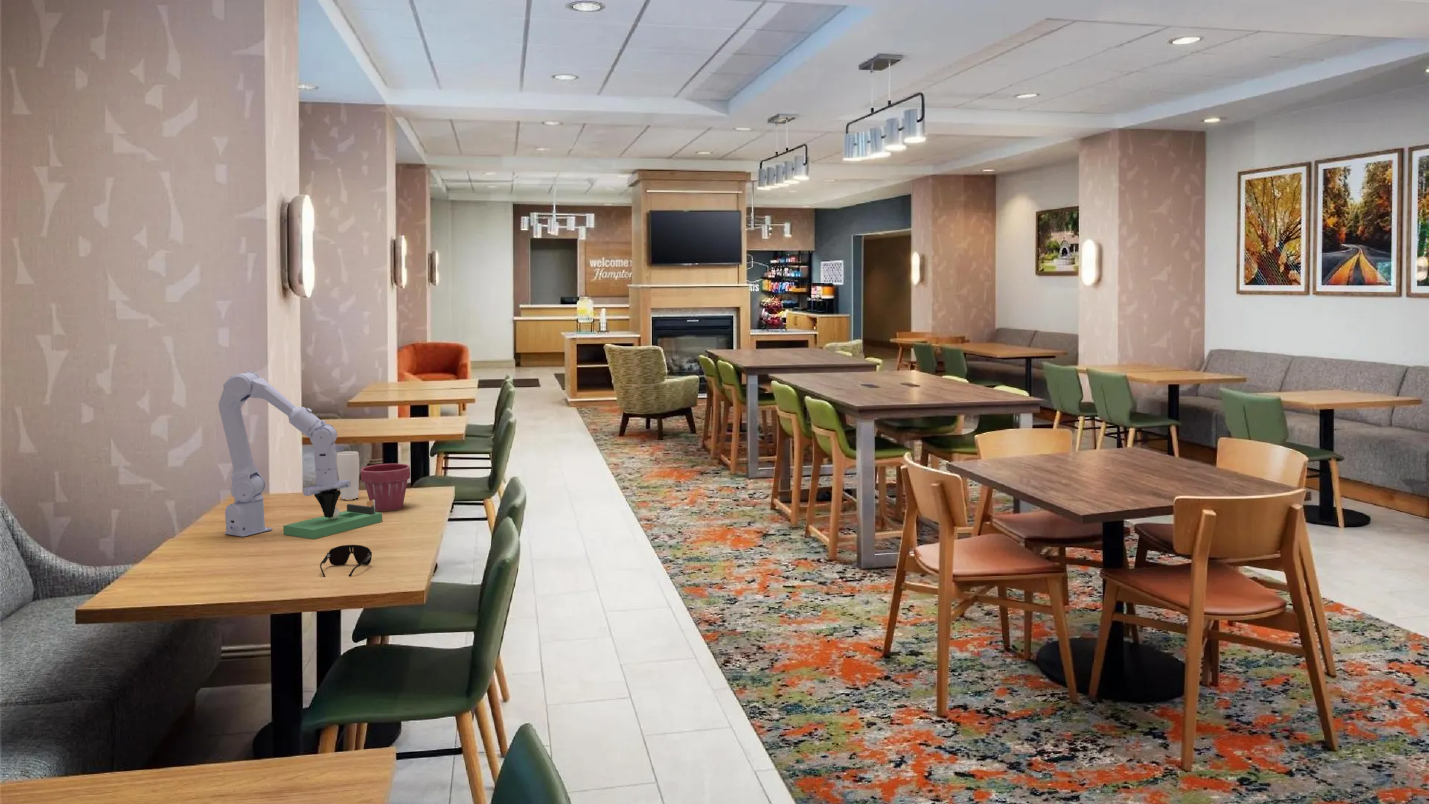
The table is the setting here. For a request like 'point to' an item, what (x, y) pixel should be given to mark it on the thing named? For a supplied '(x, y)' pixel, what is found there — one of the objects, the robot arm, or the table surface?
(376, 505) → the plant pot
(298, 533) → the green board
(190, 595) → the table surface
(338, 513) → the ball
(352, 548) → the sunglasses
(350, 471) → the drinking glass
